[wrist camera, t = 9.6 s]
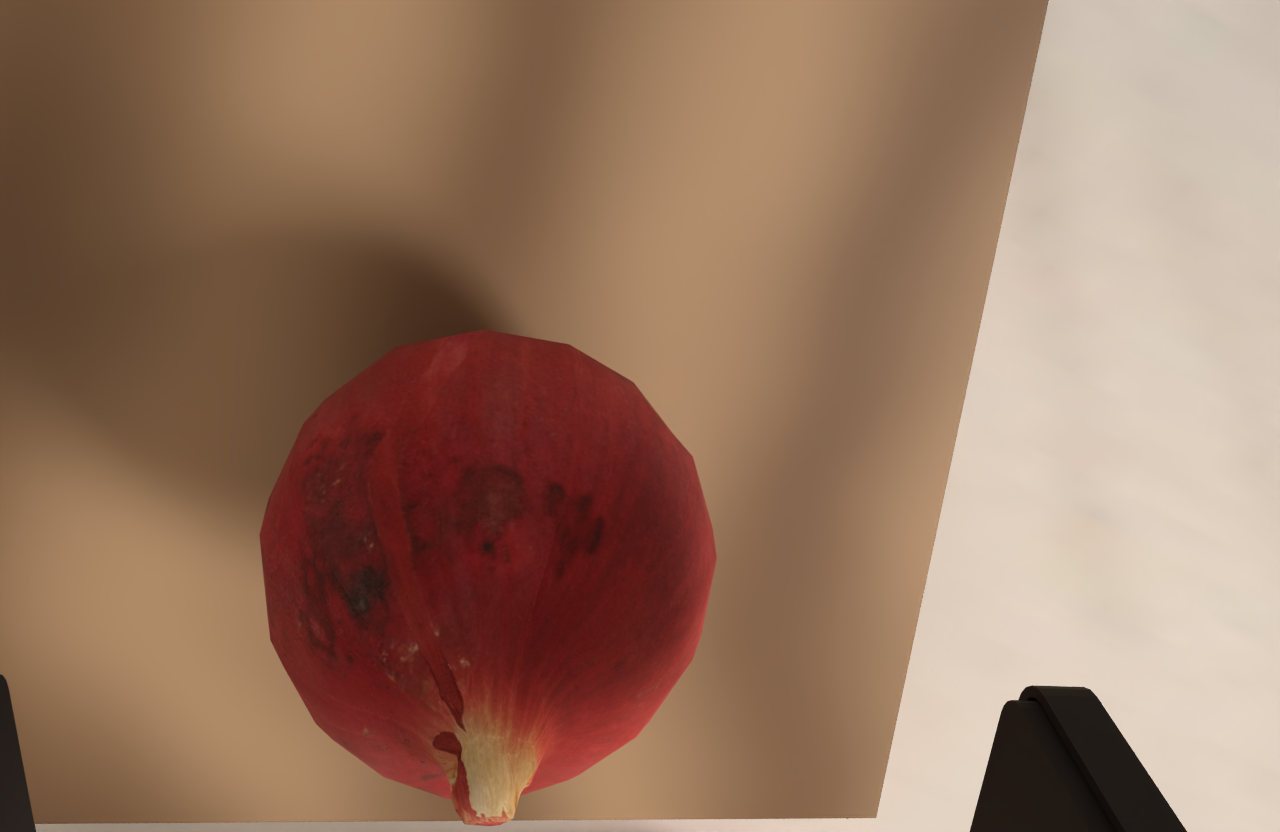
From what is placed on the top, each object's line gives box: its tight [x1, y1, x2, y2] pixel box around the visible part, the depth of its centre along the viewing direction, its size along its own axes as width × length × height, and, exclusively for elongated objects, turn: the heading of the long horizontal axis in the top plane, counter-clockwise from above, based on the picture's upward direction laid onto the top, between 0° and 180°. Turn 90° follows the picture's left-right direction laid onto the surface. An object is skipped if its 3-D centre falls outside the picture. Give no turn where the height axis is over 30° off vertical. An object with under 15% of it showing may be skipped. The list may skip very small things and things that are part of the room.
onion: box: [259, 329, 717, 826], centre depth 15 cm, size 6×6×8 cm
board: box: [0, 0, 1049, 824], centre depth 19 cm, size 18×16×2 cm
